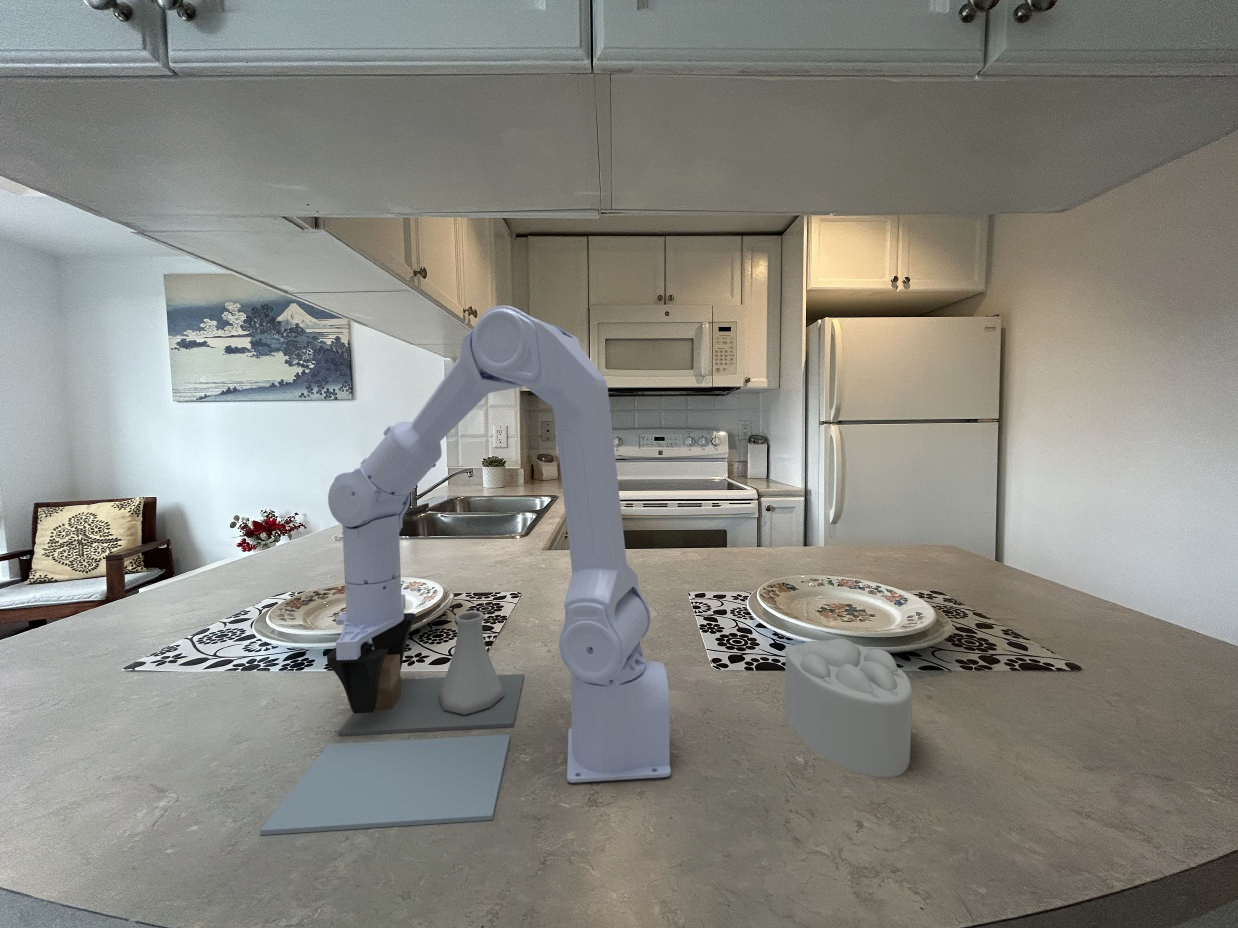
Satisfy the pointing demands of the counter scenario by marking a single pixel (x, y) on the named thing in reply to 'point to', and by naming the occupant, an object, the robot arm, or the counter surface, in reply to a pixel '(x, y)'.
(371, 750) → the slate mat
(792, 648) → the lumpy-topped squat cylinder
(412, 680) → the charcoal mat
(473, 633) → the flask
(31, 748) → the counter surface
